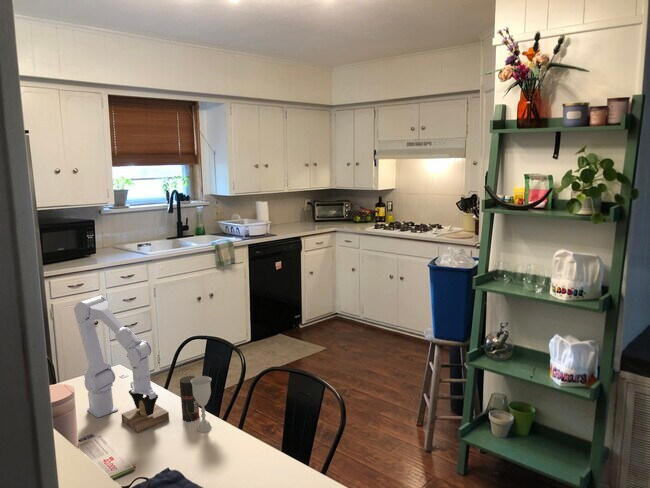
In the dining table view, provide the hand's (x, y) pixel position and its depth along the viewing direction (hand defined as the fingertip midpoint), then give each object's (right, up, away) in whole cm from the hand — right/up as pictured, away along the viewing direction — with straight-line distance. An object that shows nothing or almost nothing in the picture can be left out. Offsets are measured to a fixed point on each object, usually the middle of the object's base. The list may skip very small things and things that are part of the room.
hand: (144, 411), depth 190 cm
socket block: (0, -4, +1) cm, 4 cm away
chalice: (+23, -4, -6) cm, 24 cm away
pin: (0, -3, 0) cm, 3 cm away
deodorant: (+16, -3, +2) cm, 17 cm away
